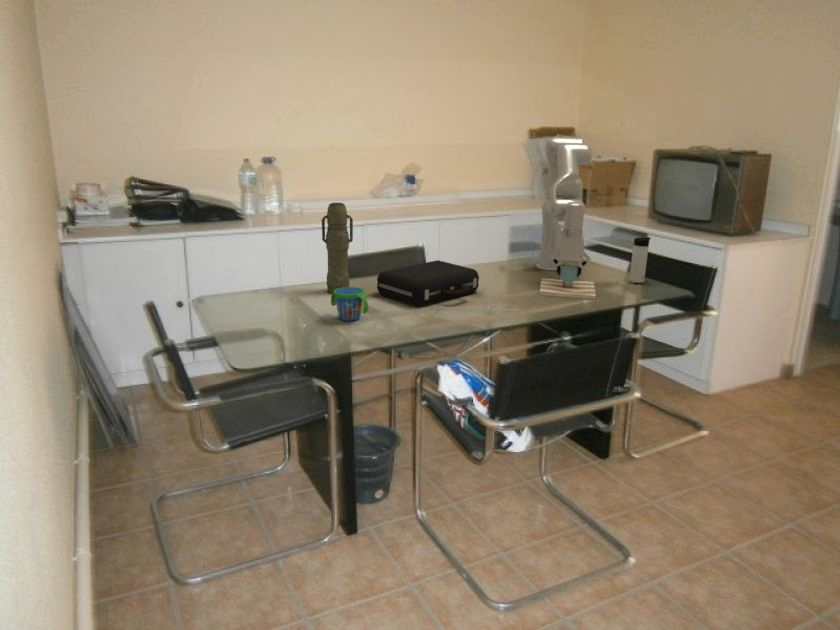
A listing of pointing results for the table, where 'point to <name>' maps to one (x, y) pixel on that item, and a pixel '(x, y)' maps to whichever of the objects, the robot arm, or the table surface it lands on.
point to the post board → (567, 288)
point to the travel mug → (639, 260)
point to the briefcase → (427, 282)
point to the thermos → (337, 245)
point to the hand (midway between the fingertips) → (568, 275)
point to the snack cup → (349, 302)
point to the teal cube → (568, 272)
